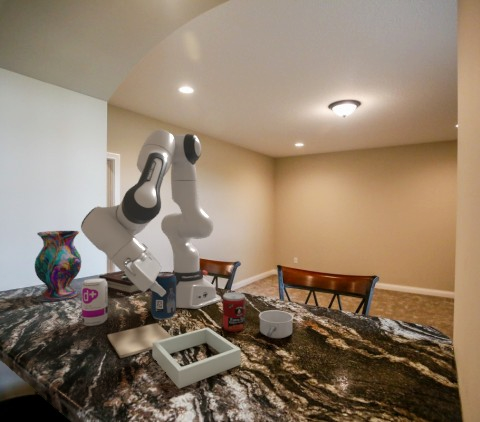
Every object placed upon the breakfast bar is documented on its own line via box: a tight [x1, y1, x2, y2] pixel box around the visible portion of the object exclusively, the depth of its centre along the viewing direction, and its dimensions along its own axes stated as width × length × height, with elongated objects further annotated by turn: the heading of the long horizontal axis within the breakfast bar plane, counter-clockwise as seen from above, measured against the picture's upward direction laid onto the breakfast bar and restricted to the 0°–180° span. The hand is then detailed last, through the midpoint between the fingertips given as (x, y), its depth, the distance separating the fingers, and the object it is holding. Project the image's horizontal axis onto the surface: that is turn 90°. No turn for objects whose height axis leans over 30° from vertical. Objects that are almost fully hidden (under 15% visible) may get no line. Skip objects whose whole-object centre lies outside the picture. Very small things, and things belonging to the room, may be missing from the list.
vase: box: [34, 230, 82, 302], centre depth 133 cm, size 18×18×30 cm
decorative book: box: [98, 270, 151, 297], centre depth 149 cm, size 19×8×30 cm
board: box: [107, 322, 173, 359], centre depth 89 cm, size 16×16×1 cm
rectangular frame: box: [151, 326, 242, 390], centre depth 77 cm, size 17×17×4 cm
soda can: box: [150, 271, 177, 321], centre depth 82 cm, size 7×7×12 cm
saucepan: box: [258, 309, 294, 339], centre depth 91 cm, size 12×20×6 cm, turn 165°
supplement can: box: [81, 277, 108, 327], centre depth 103 cm, size 8×8×15 cm
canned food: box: [222, 291, 246, 332], centre depth 99 cm, size 8×8×11 cm
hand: (166, 289), depth 82 cm, fingers closed on soda can, 7 cm apart
